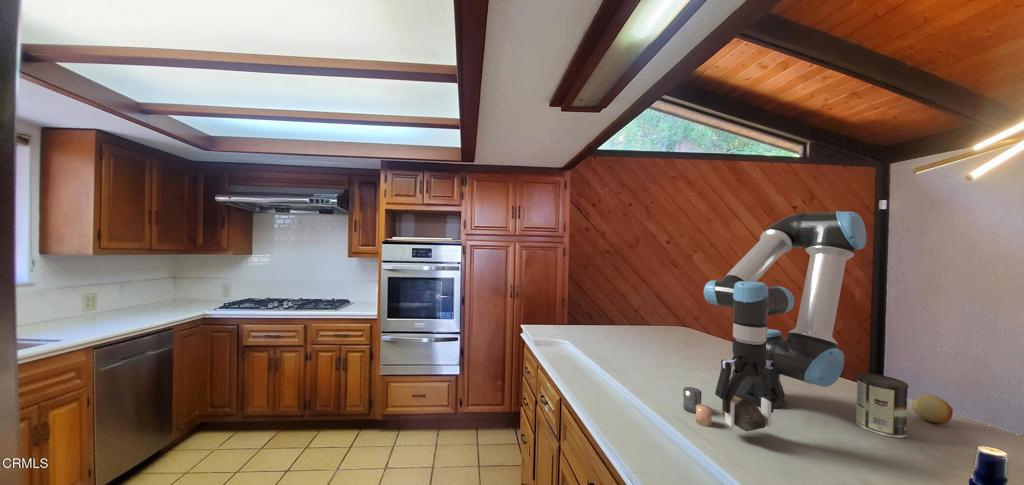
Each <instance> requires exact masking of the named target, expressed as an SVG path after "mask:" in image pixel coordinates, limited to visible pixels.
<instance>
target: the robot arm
mask: <svg viewBox="0 0 1024 485" xmlns="http://www.w3.org/2000/svg"><path fill="white" fill-rule="evenodd" d="M866 230H867V229H866V226H865V222H864V220H863V218H862V216H861V215H860V214H859V213H857V212H855V211H841V210H836V211H824V212H823V211H822V212H801V213H795V214H790V215H788V216H786V217H783V218H781V219H780V220H777V221H776V222H774V223H772V224H771V225H770V226H769V227H767V228H766V229H765V230H764V231H763V232H762V233H761V234H760V236H759V241H758V242H757V243H756V244H755V245H754V246H752V248H751V249H749V251H748V252H747V253H746V254H745V255H744V256H743V257H742V258H741V259H740V260H739V261H738V262H737V263H736V264H734V266H733V267H732V268H731V269H730V271H729V272H727V273H726V275H724V277H723V278H721V279H720V280H718V279H715V280H708V282H706V283H705V285H704V288H703V297H704V300H706V302H708V303H709V304H710V305H711V304H712V305H715V306H719V307H727V308H732V309H733V315H732V316H733V318H732V337H733V339H732V354H733V356H732V359H730V360H725V359H721V361H720V367H721V368H720V372H719V377H718V380H717V384H716V389H715V391H714V392H715V393H714V394H715V396H717V397H718V398H719V399H721V400H722V399H723V411H724V412H725V415H724V423H726V424H727V425H729V427H731V428H735V425H734V408H735V402H733V401H732V399H733V397H734V396H736V397H738V398H740V399H745V400H748V401H750V402H752V403H753V404H754V405H755V406H758V407H760V412H761V413H762V415H763V416H764V419H765V422H766V426H765V427H767V428H770V427H772V414H773V413H774V409H780V408H784V407H785V406H786V404H787V401H786V400H787V397H786V394H785V391H784V388H783V385H782V382H781V380H780V379H781V378H780V376H781V375H782V376H783V377H788V378H790V379H791V378H792V379H794V380H798V381H801V382H803V383H806V384H808V385H809V384H810V385H815V386H819V387H822V388H823V387H824V388H826V387H831V386H832V385H834V384H835V383H836V382H838V380H839V379H840V377H841V375H842V372H843V370H844V366H845V360H844V359H845V355H844V353H843V351H842V350H840V349H839V348H838V345H839V343H838V342H837V341H836V339H834V338H833V333H834V329H835V328H834V327H835V323H836V322H835V321H836V317H837V310H838V307H839V301H840V295H841V289H842V284H843V278H844V274H845V267H846V264H847V263H846V262H847V260H848V261H849V260H850V259H852V258H854V256H855V251H856V250H862V249H864V247H865V246H866V244H867V231H866ZM796 248H805V252H806V253H807V254H808V255H809V259H808V260H809V261H808V264H807V265H808V266H807V269H806V270H807V272H806V276H805V281H804V286H803V290H802V295H801V301H800V305H799V306H800V307H799V310H798V315H797V321H796V326H795V328H793V329H791V330H789V331H788V334H787V337H784V336H783V334H782V332H781V331H780V330H778V329H772V328H771V329H770V328H768V323H767V321H768V316H769V317H770V316H774V315H776V316H777V315H778V316H779V315H783V314H785V313H788V312H789V311H791V310H792V309H793V308H794V306H795V302H796V301H795V298H794V295H793V293H792V292H791V291H790V290H789V289H788V288H785V287H782V286H768V285H767V284H766V283H765V282H761V281H758V280H759V279H760V278H762V276H763V275H764V274H765V273H766V272H767V271H768V270H769V269H770V267H771V266H772V265H773V264H774V263H775V262H776V261H777V260H778V259H779V257H780V256H781V255H782V254H787V253H788V252H790V251H791V250H792V249H796Z"/></svg>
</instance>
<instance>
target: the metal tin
mask: <svg viewBox="0 0 1024 485" xmlns="http://www.w3.org/2000/svg"><path fill="white" fill-rule="evenodd" d="M682 391H683V392H682V393H683V394H682V396H683V397H682V398H683V400H682V401H683V404H682V405H683V406H682V408H684V409H683V410H684V411H685V410H686V411H685V412H687V413H691V414H696V405H698V404H702V390H701V389H699V388H697V387H693V386H685V387H683V390H682Z"/></svg>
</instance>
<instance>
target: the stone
mask: <svg viewBox="0 0 1024 485" xmlns="http://www.w3.org/2000/svg"><path fill="white" fill-rule="evenodd" d="M734 426H736V427H738V428H739V429H741V430H742V431H745V432H753V431H756V430H760V429H764V428H766V427H767V426H766V422H765V419H764V416H763V415H762V413H761V409H759V406H758V407H757V405H754V404H753V403H752V402H750V401H748V400H745V399H740V400H738V401H737V402H735V408H734Z"/></svg>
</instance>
